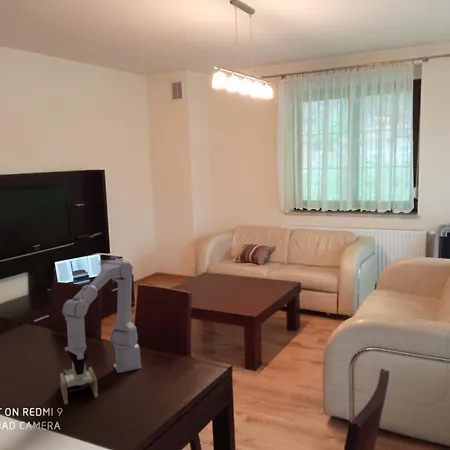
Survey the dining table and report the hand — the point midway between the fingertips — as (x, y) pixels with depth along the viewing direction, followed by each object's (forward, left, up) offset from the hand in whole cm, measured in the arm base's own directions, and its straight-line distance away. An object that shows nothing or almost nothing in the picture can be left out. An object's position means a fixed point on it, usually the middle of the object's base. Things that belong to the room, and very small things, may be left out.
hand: (78, 371), depth 161 cm
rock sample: (-1, -12, -10) cm, 15 cm away
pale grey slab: (0, -3, -6) cm, 7 cm away
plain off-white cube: (0, 0, -2) cm, 2 cm away
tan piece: (0, -3, -9) cm, 10 cm away
